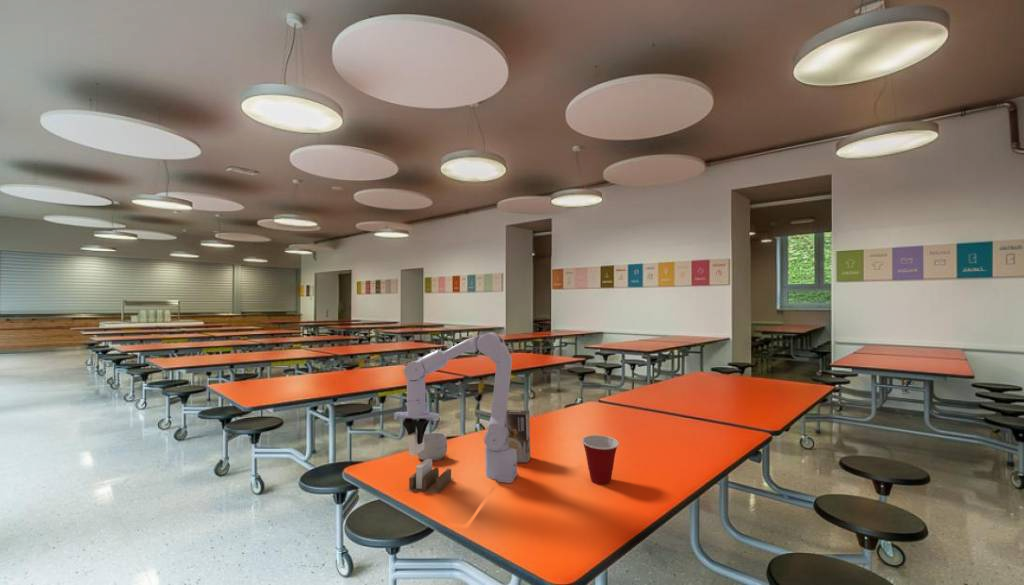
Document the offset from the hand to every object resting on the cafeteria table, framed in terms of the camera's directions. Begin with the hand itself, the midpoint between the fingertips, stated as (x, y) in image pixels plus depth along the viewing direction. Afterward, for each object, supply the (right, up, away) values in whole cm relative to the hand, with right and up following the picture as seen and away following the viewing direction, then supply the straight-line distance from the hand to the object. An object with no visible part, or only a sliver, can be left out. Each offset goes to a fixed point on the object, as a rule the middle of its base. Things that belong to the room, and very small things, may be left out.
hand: (416, 443), depth 135 cm
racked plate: (+4, -9, -10) cm, 14 cm away
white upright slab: (0, -3, 0) cm, 3 cm away
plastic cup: (+56, -9, -8) cm, 58 cm away
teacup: (+2, -11, +15) cm, 19 cm away
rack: (+6, -9, -10) cm, 15 cm away
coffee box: (+31, -10, +12) cm, 35 cm away
